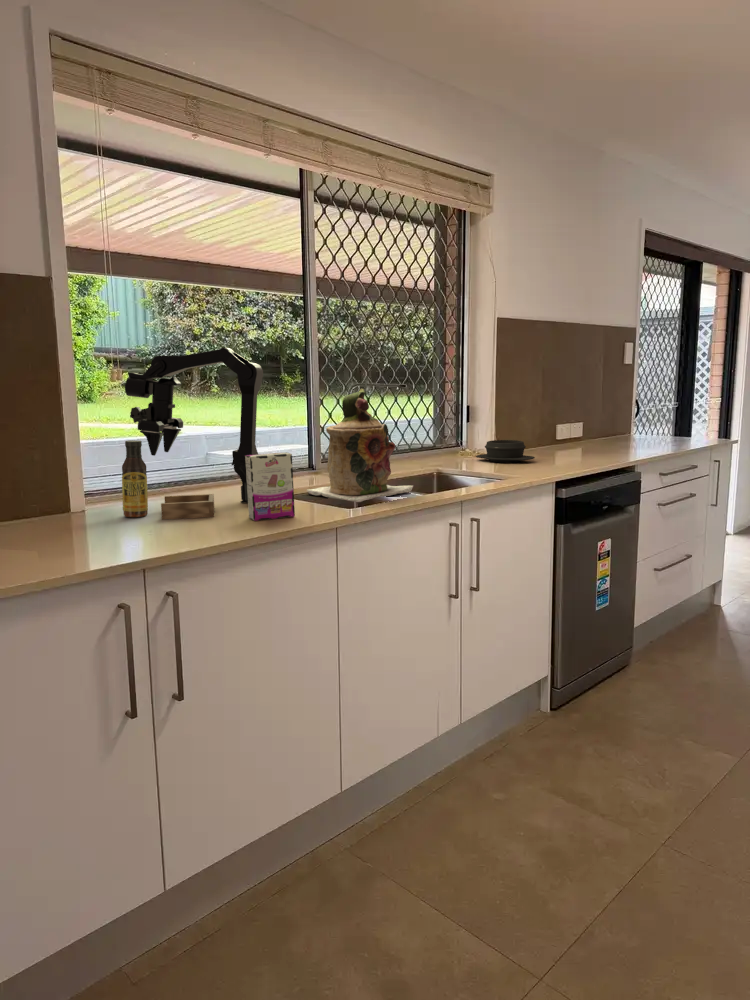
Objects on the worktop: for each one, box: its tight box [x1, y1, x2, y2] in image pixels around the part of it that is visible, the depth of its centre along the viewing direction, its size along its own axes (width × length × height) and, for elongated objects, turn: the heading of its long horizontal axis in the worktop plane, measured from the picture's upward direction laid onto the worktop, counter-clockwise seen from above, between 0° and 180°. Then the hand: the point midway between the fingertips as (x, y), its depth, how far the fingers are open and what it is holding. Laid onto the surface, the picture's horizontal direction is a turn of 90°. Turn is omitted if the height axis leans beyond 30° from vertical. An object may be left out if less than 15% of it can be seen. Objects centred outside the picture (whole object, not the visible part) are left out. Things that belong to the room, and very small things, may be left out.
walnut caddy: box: [160, 493, 215, 520], centre depth 187 cm, size 13×13×4 cm
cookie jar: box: [306, 388, 414, 503], centre depth 214 cm, size 25×25×32 cm
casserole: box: [475, 439, 536, 464], centre depth 293 cm, size 25×19×8 cm
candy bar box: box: [245, 451, 296, 522], centre depth 179 cm, size 11×5×16 cm, turn 118°
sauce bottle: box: [121, 439, 149, 519], centre depth 183 cm, size 7×6×20 cm
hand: (159, 453), depth 205 cm, fingers open, 9 cm apart
